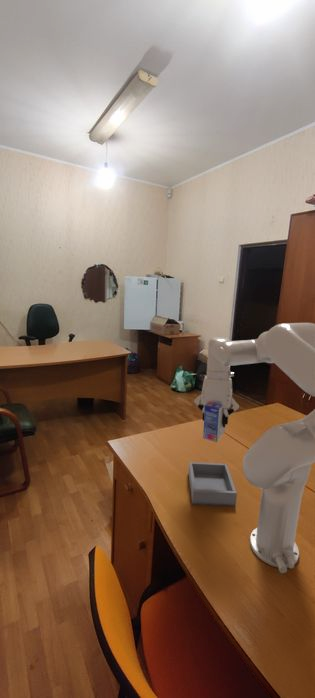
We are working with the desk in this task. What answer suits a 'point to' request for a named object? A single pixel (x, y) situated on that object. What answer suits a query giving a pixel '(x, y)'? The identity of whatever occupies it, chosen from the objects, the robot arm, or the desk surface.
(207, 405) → the ink cartridge box
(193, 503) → the bin
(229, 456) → the desk surface
